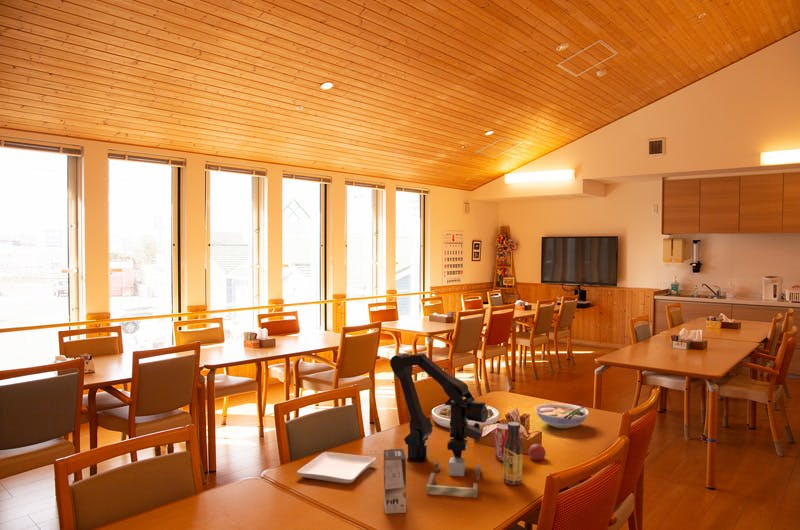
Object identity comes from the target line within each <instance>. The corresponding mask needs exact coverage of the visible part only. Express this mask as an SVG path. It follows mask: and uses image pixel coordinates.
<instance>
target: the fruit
mask: <svg viewBox="0 0 800 530" xmlns="http://www.w3.org/2000/svg"><path fill="white" fill-rule="evenodd" d="M527 450H528V455H529V458H530V459H531V460H532V461H535V462H536V461H538V462H540V461H543V460H544V459H545V457H546V453H547V452H546V449H545V447H544V446H543V445H542V444H540V443H534V444H532V445H530V446H529V448H527Z"/></svg>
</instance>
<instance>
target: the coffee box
mask: <svg viewBox="0 0 800 530" xmlns="http://www.w3.org/2000/svg"><path fill="white" fill-rule="evenodd" d="M406 488H407V457H406V454H405V450H404V449H403V448H390V449H383V503H384V505H383V506H384V513H385V514H386V515H387V514H406V513H407V489H406Z"/></svg>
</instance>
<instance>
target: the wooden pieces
mask: <svg viewBox="0 0 800 530" xmlns="http://www.w3.org/2000/svg"><path fill="white" fill-rule="evenodd" d="M475 468H476V469H475V475H474V476H475V478H474V479H475V482H473V487H464V486H454V485H452V486H451V485H435V482H436V473H435V472H439V470H440V461H439V460H437V461H435V462H434V472H431V473H430V475H429V477H428V481H427V484H426V495H437V496H447V497H449V496H450V497H461V498H463V497H464V498H474V499H476V498H477V497H478V492H479V491H478V490H479V488H478V487H479V485H478V483H477V482H479V481H480V478H481V477H480V476H481V463H477V464H476V467H475Z"/></svg>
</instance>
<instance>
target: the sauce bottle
mask: <svg viewBox="0 0 800 530" xmlns="http://www.w3.org/2000/svg"><path fill="white" fill-rule="evenodd" d="M507 425H508V436H507V439H506V442H505V445H504V457H503V461H502V462H503V463H502V464H503V465H502V469H503V470H502V477H503V478H502V480H503V482H504V483H505V484H507V485H511V486H517V485H520V484H522V482H523V481H522V479H523V457H524V456H523V455H524V454H523V453H524V452H523V446H524V445H523V443H522V440H521V438H520V429H521V423H520V422H517V421H509V422H507Z"/></svg>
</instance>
